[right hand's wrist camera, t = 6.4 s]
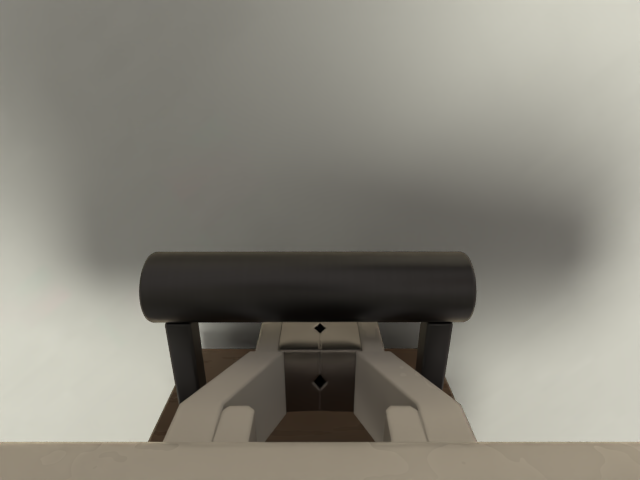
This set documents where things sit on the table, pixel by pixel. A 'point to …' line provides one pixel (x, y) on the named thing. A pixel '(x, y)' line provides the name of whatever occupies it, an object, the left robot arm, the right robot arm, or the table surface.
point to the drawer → (303, 313)
